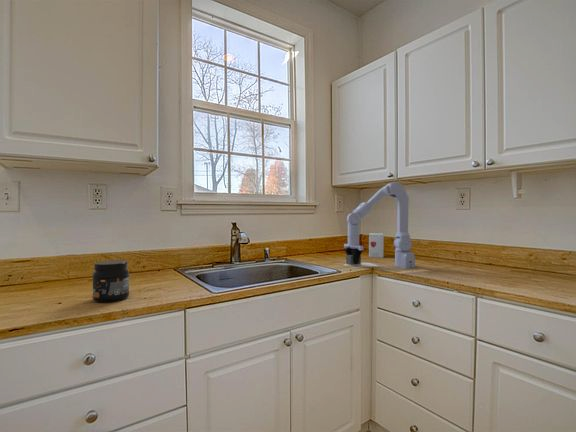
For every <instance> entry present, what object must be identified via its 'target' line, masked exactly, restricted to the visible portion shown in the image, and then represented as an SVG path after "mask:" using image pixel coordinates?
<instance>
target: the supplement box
mask: <svg viewBox="0 0 576 432" xmlns="http://www.w3.org/2000/svg"><path fill="white" fill-rule="evenodd" d="M384 236H385V234H384V233H381V232H378V233H377V232H375V233H374V232H373V233H372V232H370V233H369V236H368V257H369V258H383V259H384V250H385V249H384V248H385V246H384V245H385V242H384V239H385V237H384Z"/></svg>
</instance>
